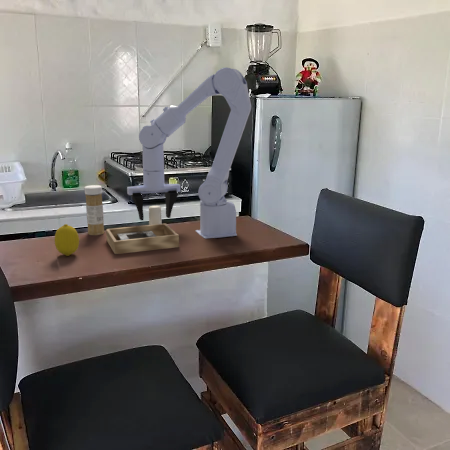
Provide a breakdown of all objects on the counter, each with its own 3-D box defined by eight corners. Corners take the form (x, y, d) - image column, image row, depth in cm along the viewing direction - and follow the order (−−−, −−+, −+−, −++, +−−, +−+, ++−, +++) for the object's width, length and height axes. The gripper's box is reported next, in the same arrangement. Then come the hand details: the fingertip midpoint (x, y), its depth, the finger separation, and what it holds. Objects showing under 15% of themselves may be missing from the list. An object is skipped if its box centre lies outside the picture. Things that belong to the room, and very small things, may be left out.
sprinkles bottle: (100, 231, 142) (97, 184, 138) (107, 234, 139) (104, 186, 135) (84, 233, 139) (81, 185, 136) (92, 237, 136) (88, 188, 132)
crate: (166, 235, 138) (165, 223, 137) (179, 248, 127) (178, 234, 126) (106, 242, 132) (106, 229, 131) (115, 255, 121) (114, 241, 120)
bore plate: (151, 237, 135) (151, 230, 134) (160, 247, 127) (159, 239, 126) (117, 241, 131) (117, 233, 131) (124, 251, 123) (123, 243, 123)
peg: (160, 229, 144) (159, 205, 142) (163, 232, 141) (162, 207, 139) (148, 230, 143) (147, 206, 141) (151, 233, 140) (150, 208, 138)
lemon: (54, 254, 122) (52, 222, 120) (78, 251, 124) (76, 220, 122) (57, 261, 117) (54, 228, 115) (81, 258, 119) (79, 225, 117)
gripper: (175, 166, 144) (175, 212, 147) (124, 169, 138) (126, 217, 142) (182, 170, 137) (183, 218, 141) (129, 173, 132) (131, 223, 136)
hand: (154, 218), depth 141 cm, fingers open, 7 cm apart
